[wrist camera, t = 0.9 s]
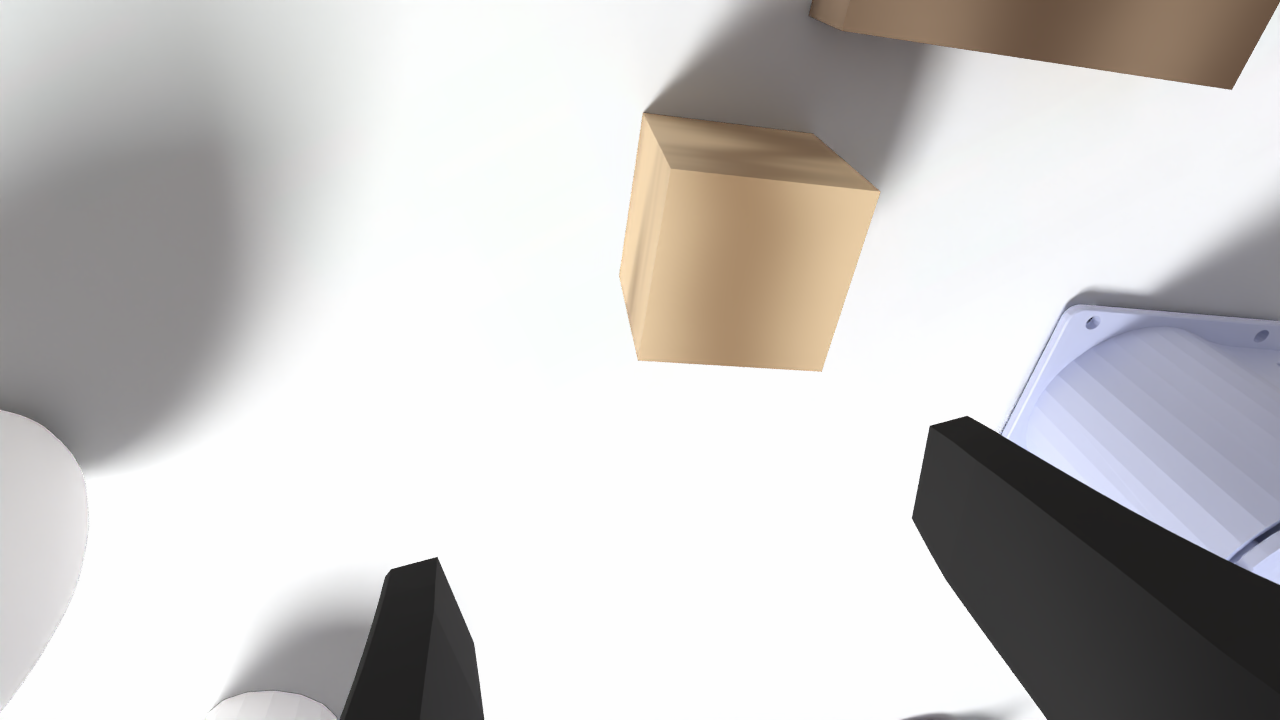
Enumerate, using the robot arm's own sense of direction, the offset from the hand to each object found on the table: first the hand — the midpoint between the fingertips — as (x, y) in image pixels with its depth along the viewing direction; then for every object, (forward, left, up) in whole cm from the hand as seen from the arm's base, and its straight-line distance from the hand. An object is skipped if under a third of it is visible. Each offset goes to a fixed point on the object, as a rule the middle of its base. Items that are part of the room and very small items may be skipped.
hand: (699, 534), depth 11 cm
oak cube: (-3, 0, -13) cm, 14 cm away
